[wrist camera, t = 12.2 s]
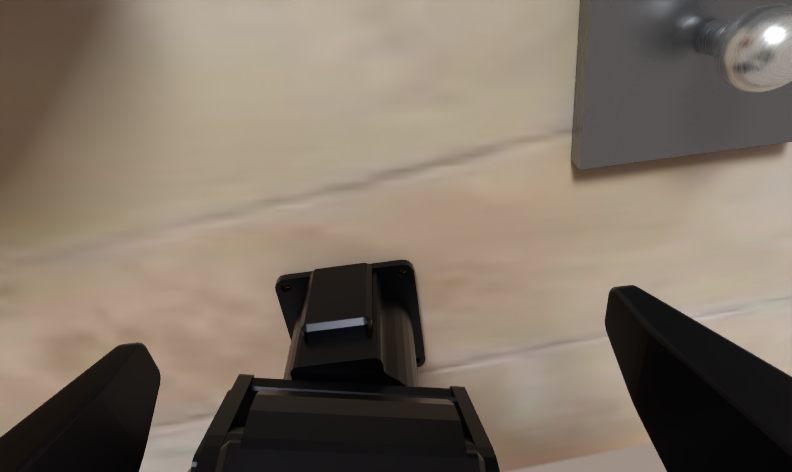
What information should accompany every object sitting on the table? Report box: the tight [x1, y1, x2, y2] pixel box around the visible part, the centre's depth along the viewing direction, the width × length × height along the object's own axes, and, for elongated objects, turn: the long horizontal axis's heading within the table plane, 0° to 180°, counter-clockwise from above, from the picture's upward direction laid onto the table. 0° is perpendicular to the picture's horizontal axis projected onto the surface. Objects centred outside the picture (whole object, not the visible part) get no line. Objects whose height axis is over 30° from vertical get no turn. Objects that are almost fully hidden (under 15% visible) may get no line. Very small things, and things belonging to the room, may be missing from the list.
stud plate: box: [571, 0, 792, 170], centre depth 16 cm, size 9×9×5 cm
